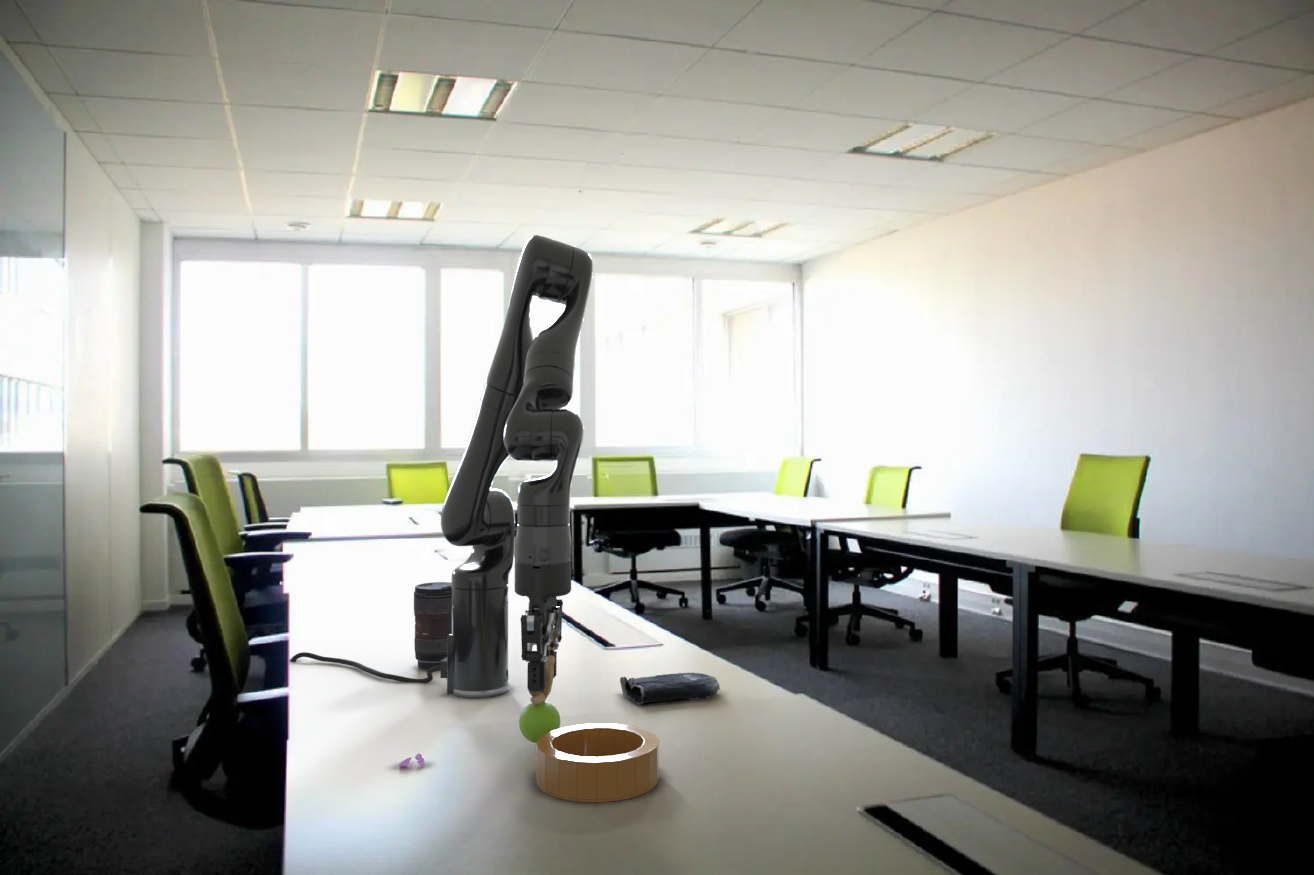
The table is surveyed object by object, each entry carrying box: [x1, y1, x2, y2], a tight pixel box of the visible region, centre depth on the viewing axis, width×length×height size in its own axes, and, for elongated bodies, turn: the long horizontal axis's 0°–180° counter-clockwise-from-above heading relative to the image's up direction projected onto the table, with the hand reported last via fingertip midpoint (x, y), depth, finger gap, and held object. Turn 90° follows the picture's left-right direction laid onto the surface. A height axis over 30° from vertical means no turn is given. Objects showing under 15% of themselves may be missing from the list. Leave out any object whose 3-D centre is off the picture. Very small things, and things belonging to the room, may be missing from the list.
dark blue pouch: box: [619, 672, 721, 706], centre depth 147 cm, size 9×6×15 cm
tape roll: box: [535, 723, 660, 803], centre depth 109 cm, size 15×15×4 cm
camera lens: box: [413, 581, 452, 671], centre depth 167 cm, size 8×8×15 cm
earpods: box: [398, 752, 426, 768], centre depth 114 cm, size 3×2×2 cm
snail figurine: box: [518, 646, 561, 744], centre depth 121 cm, size 5×6×12 cm
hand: (542, 683), depth 121 cm, fingers closed on snail figurine, 6 cm apart
